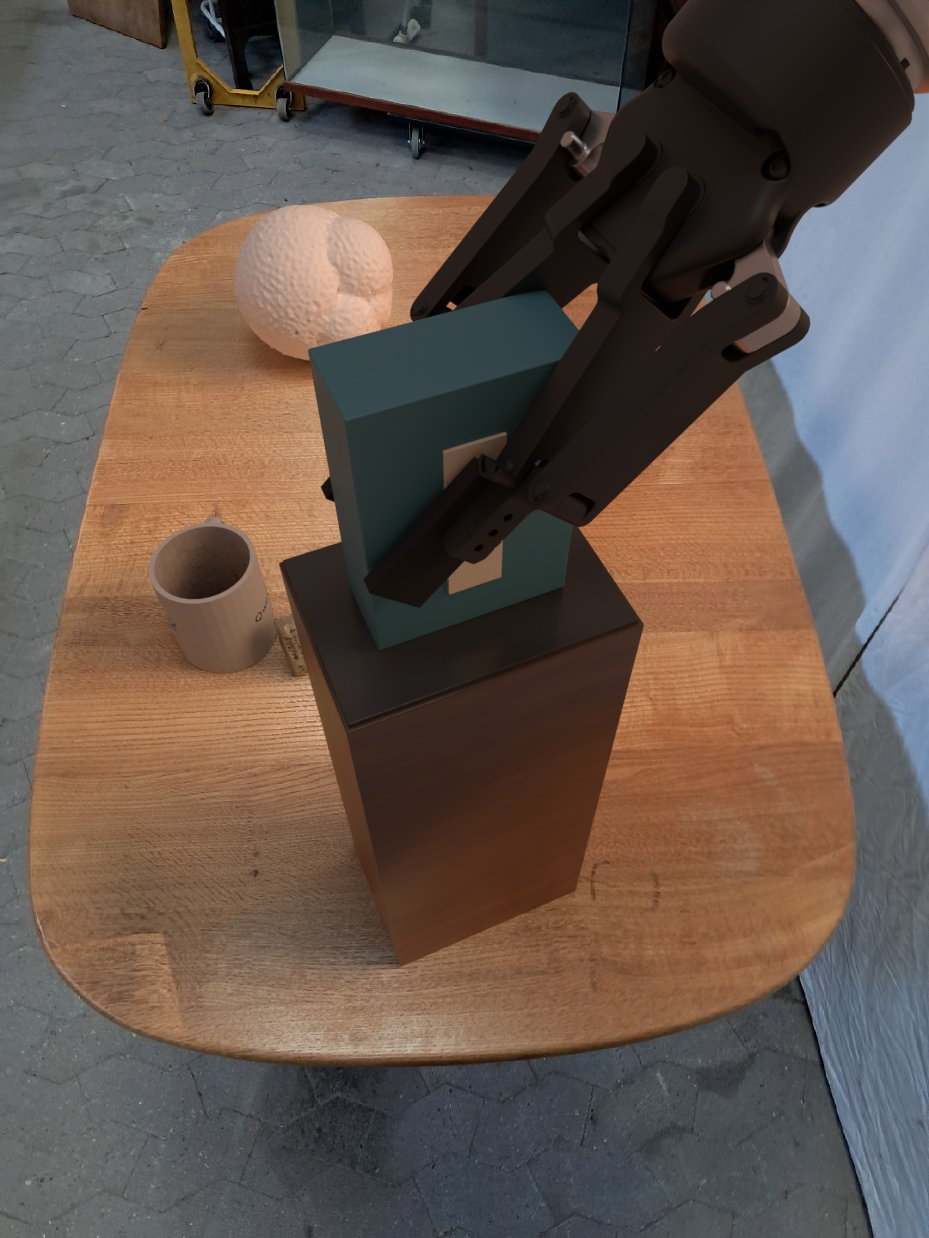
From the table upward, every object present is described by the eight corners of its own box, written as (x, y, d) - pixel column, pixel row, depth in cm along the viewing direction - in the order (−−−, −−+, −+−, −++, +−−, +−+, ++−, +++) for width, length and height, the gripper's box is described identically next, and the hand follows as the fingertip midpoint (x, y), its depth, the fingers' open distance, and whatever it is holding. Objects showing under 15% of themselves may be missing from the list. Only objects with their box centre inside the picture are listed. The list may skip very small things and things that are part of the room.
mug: (265, 676, 79) (241, 607, 71) (169, 669, 79) (134, 600, 71) (293, 568, 86) (274, 493, 78) (204, 562, 87) (177, 488, 79)
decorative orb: (247, 300, 112) (218, 172, 99) (390, 286, 113) (380, 158, 100) (250, 407, 100) (218, 277, 87) (410, 389, 101) (401, 259, 89)
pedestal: (575, 890, 67) (645, 620, 40) (399, 967, 64) (345, 730, 37) (518, 778, 73) (546, 473, 46) (353, 843, 70) (277, 558, 42)
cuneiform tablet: (429, 647, 81) (302, 700, 77) (408, 618, 84) (285, 667, 80) (419, 587, 76) (283, 640, 72) (397, 558, 79) (266, 608, 76)
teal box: (566, 589, 41) (598, 352, 31) (379, 654, 39) (346, 423, 29) (526, 527, 43) (544, 286, 33) (348, 585, 41) (306, 348, 31)
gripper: (1083, 231, 25) (518, 732, 35) (730, -2, 35) (364, 439, 44) (1028, 56, 20) (375, 708, 29) (627, -163, 29) (235, 380, 39)
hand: (369, 545), depth 37 cm, fingers open, 5 cm apart
